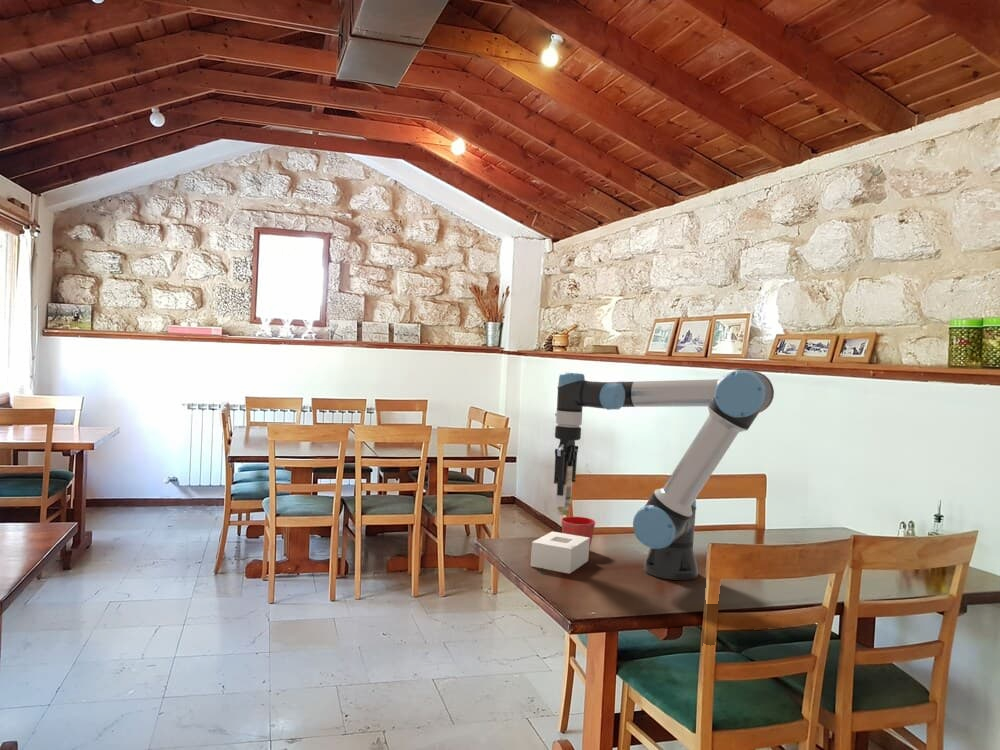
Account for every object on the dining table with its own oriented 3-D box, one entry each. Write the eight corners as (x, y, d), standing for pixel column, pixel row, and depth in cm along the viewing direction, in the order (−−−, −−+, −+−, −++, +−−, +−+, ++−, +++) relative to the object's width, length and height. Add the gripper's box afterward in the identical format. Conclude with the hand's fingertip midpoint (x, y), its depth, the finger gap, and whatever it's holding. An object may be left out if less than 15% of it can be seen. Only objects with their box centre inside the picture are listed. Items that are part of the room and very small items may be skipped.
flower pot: (555, 552, 232) (557, 521, 231) (564, 544, 242) (565, 514, 242) (589, 557, 228) (591, 525, 228) (596, 548, 239) (598, 518, 238)
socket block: (588, 560, 224) (589, 537, 224) (569, 573, 210) (571, 548, 209) (551, 554, 229) (552, 531, 229) (530, 566, 215) (531, 542, 215)
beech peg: (571, 513, 220) (574, 466, 220) (566, 516, 216) (569, 468, 216) (558, 511, 222) (561, 464, 221) (553, 514, 218) (556, 466, 218)
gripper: (566, 422, 228) (561, 498, 228) (545, 426, 212) (540, 508, 213) (590, 425, 224) (585, 502, 225) (570, 428, 209) (565, 511, 210)
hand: (563, 504), depth 219 cm, fingers closed on beech peg, 4 cm apart
